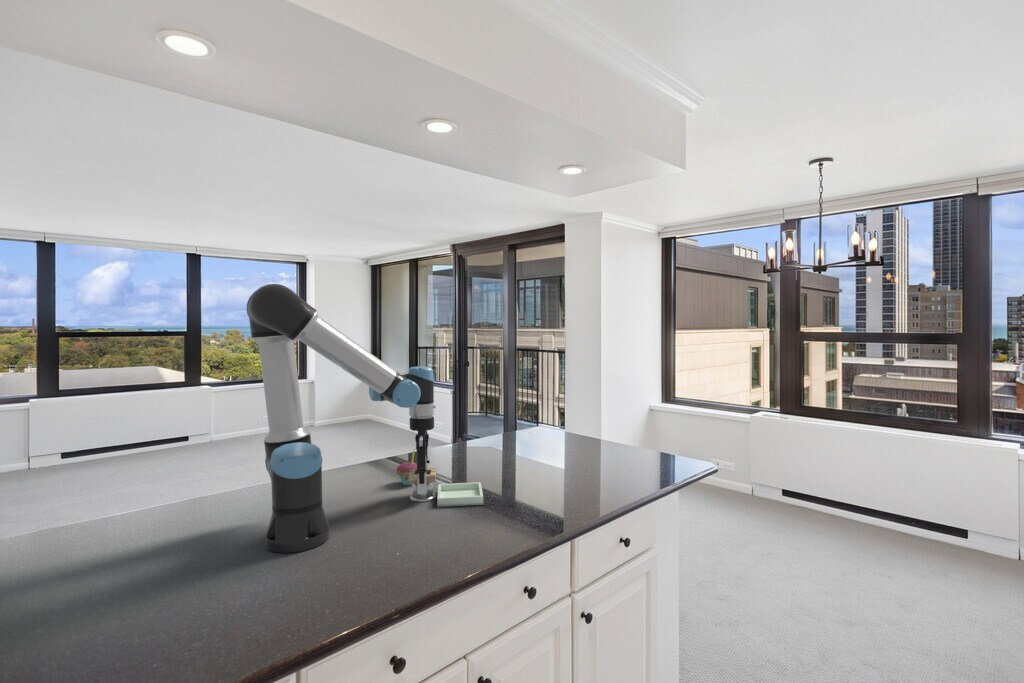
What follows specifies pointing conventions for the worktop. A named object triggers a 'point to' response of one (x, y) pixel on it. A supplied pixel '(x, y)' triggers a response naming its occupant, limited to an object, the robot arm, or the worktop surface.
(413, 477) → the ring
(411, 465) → the cupcake
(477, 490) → the tray
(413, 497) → the silver bell-shaped piece
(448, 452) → the worktop surface
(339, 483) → the worktop surface
